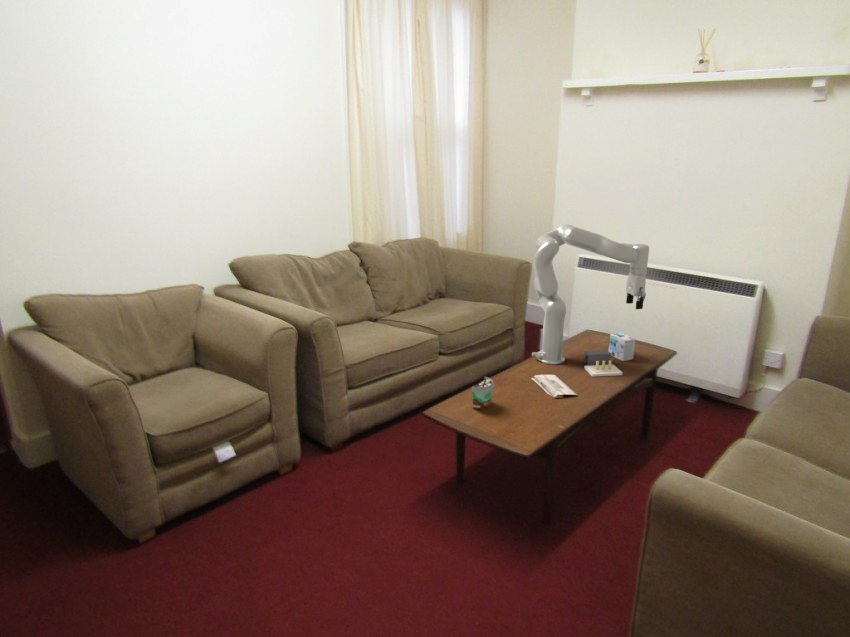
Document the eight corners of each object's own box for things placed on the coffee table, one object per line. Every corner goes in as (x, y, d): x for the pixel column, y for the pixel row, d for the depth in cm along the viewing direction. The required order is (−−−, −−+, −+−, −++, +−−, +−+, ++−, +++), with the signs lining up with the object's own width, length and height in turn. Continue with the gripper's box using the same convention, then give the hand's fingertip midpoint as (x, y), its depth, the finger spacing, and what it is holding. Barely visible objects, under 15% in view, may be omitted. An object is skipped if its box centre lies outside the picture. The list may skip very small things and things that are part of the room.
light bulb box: (607, 354, 282) (609, 333, 278) (618, 352, 284) (620, 332, 281) (623, 361, 272) (625, 340, 269) (633, 359, 275) (636, 338, 272)
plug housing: (587, 366, 267) (588, 354, 265) (584, 362, 272) (584, 350, 270) (610, 365, 268) (611, 353, 266) (606, 361, 273) (607, 349, 271)
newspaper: (530, 379, 254) (530, 374, 254) (555, 379, 257) (555, 374, 256) (550, 400, 233) (551, 395, 232) (577, 400, 236) (578, 395, 235)
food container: (485, 413, 222) (485, 390, 219) (471, 409, 225) (471, 386, 222) (498, 401, 232) (499, 379, 229) (484, 398, 235) (485, 376, 232)
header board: (592, 376, 255) (593, 365, 254) (584, 368, 265) (585, 357, 263) (622, 375, 257) (623, 364, 255) (613, 366, 266) (614, 356, 265)
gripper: (622, 267, 271) (618, 301, 277) (639, 275, 255) (635, 311, 260) (637, 266, 272) (633, 300, 277) (654, 274, 256) (650, 311, 261)
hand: (634, 306), depth 269 cm, fingers open, 9 cm apart
